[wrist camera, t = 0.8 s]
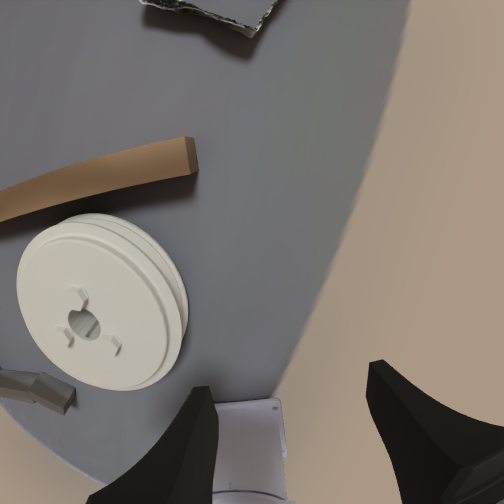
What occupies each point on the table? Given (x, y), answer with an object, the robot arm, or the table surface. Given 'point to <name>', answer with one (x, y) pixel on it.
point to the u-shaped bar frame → (74, 187)
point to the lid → (103, 301)
